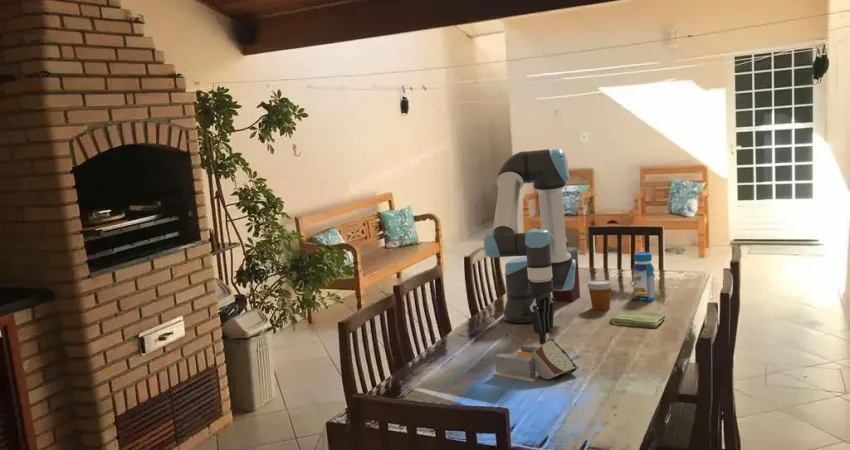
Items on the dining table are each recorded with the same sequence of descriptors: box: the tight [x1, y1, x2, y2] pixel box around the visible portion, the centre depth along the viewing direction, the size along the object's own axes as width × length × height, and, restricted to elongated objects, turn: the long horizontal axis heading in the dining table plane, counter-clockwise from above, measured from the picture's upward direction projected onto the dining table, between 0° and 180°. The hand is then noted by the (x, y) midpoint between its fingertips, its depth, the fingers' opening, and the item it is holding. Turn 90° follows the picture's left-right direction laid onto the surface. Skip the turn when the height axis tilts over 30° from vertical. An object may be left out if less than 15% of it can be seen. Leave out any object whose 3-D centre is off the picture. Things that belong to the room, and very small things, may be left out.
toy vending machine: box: [551, 238, 581, 303], centre depth 292 cm, size 9×11×28 cm
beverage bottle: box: [632, 251, 656, 302], centre depth 285 cm, size 8×8×20 cm
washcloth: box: [609, 311, 666, 329], centre depth 254 cm, size 13×18×3 cm
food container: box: [532, 336, 580, 380], centre depth 204 cm, size 12×6×10 cm
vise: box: [492, 349, 582, 383], centre depth 214 cm, size 14×28×6 cm, turn 139°
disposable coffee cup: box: [587, 279, 613, 312], centre depth 273 cm, size 10×10×12 cm
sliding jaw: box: [516, 345, 539, 358], centre depth 215 cm, size 12×6×5 cm, turn 49°
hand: (545, 353), depth 217 cm, fingers closed
